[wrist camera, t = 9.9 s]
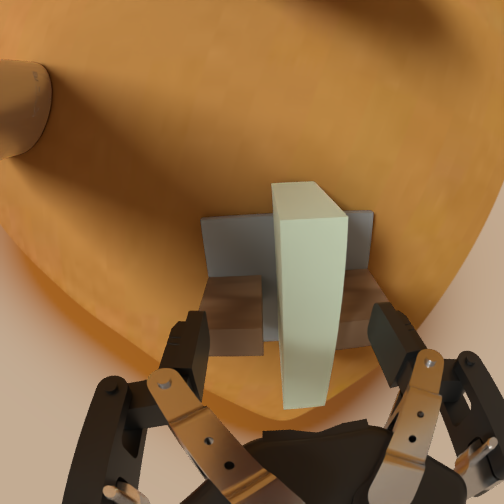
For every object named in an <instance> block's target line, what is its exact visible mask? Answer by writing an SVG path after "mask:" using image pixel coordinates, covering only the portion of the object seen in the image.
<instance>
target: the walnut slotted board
mask: <svg viewBox="0 0 504 504" xmlns="http://www.w3.org/2000/svg"><path fill="white" fill-rule="evenodd" d="M380 302H389V301H388V299H387V297H386V296H385V294H384V293H383V291H382V290H381V288H380V287H379V285H378V283H377V282H376V280H375V279H374V277H373V276H372V274H371V273H370V271H369V270H368V269H354V270H345V275H344V286H343V295H342V304H341V312H340V320H339V327H338V335H337V341H336V348H335V350H341V349H349V348H357V347H364V346H371V344H370V342H369V339H368V335H367V328H368V324H369V320H370V316H371V312H372V308H373V305H374V304H375V303H380ZM199 311H205V312H206V316H207V322H208V328H209V334H210V350H209V356H263V355H264V349H263V297H262V279H261V275H249V276H225V277H209V278H208V281H207V284H206V288H205V291H204V294H203V298H202V301H201V304H200V308H199Z"/></svg>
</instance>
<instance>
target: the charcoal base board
mask: <svg viewBox="0 0 504 504" xmlns="http://www.w3.org/2000/svg"><path fill="white" fill-rule="evenodd" d="M343 212H344V213H345V214H346V215H347V216H348V234H347V251H346V264H345V270H354V269H368V262H369V254H370V245H371V236H372V226H373V214H374V213H373V212H372V211H371V210H359V211H343ZM200 221H201V229H202V236H203V243H204V250H205V256H206V263H207V269H208V276H209V277H225V276H249V275H261V279H262V297H263V341H279V336H278V306H277V280H276V258H275V238H274V219H273V213H269V214H250V215H233V216H217V217H203V218H201V220H200Z"/></svg>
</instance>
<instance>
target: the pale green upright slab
mask: <svg viewBox="0 0 504 504" xmlns="http://www.w3.org/2000/svg"><path fill="white" fill-rule="evenodd" d="M271 186H272V202H273V219H274V238H275V258H276V280H277V306H278V336H279V350H280V363H281V377H282V392H283V407H284V409H297V408H307V407H316V406H324V405H325V402H326V397H327V392H328V387H329V382H330V377H331V371H332V366H333V360H334V354H335V348H336V341H337V335H338V327H339V320H340V312H341V304H342V295H343V286H344V275H345V264H346V251H347V234H348V216H347V215H346V214H345V213H344V212H343V211H342V210H341V209H340V207H339V206H338V205H337V204H336V203H335V202H334V201H333V200H332V199H331V198H330V197H329V196H328V195H327V194H326V193H325V192H324V191H323V190H322V189H321V188H320V187H319V186H318V185H317V184H316V183H315V182H314V181H309V182H286V183H271Z"/></svg>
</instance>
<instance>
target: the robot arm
mask: <svg viewBox="0 0 504 504" xmlns="http://www.w3.org/2000/svg"><path fill="white" fill-rule="evenodd" d="M51 95H52V89H51V81H50V78H49V74H48V72H47V71H46V69H45V68H44V67H43V66H42V65H41V64H38V63H36V62H28V61H18V60H7V59H0V160H2V159H5V158H9V157H12V156H16V155H19V154H22V153H24V152H27V151H28V150H29V149H30V148H32V147H33V145H34V144H35V143H36V142H37V141H38V139H39V137H40V135H41V134H42V132H43V130H44V127H45V125H46V122H47V119H48V115H49V112H50V106H51ZM367 335H368V339H369V342H370V344H371V346H372V348H373V350H374V352H375V355H376V357H377V359H378V361H379V364H380V366H381V368H382V370H383V373H384V375H385V377H386V380H387V382H388V384H389V387H390V388H392V387H397V386H399V388H400V391H399V392H398V394H397V397H396V400H395V403H394V405H393V408H392V411H391V413H390V415H389V418H388V420H387V422H386V424H385V426H384V428H382V427H378V426H370V425H368V422H367V419H363V420H359V421H353V422H347V423H342V424H340V425H337V426H335V427H332V428H329V429H327V430H324V431H322V432H317V433H315V432H304V431H296V430H278V431H277V430H276V431H263V438H259V439H256V440H253V441H250V442H248V443H246V444H244V445H243V446H242V445H241V444H240V443H239V442H238V441H237V440H236V439H235V437H234V436H233V435H232V434H231V433H230V432H229V431H228V429H227V428H226V427H225V426H224V425H223V424H222V422H221V421H220V420H219V419H218V418H217V417H216V415H215V414H214V413H213V412H212V411H211V409H210V408H208V407H207V406H205V407H204V406H203V405H202V404H201V402H202V396H203V389H204V383H205V376H206V369H207V363H208V356H209V350H210V334H209V328H208V322H207V316H206V312H205V311H189V312H188V316H187V319H186V321H178V322H177V323H176V325H175V326H174V327H173V328H172V329H171V332H170V335H169V338H168V341H167V345H166V347H165V350H164V353H163V357H162V360H161V363H160V366H159V369H158V370H156V371H154V372H153V373H151V374H150V376H149V377H148V379H147V380H144V381H139V382H133V383H127V382H126V381H125V379H123V378H122V377H119V376H109V377H106V378H104V379H103V380H101V382H100V383H99V384H98V386H97V388H96V391H95V393H94V396H93V399H92V402H91V404H90V407H89V410H88V413H87V416H86V419H85V422H84V425H83V428H82V431H81V434H80V437H79V440H78V444H77V447H76V450H75V453H74V457H73V461H72V464H71V468H70V472H69V475H68V479H67V483H66V488H65V492H64V496H63V501H62V504H150V502H149V500H148V498H147V497H146V496H145V495H144V494H142V493H141V492H139V491H138V484H139V477H140V470H141V463H142V457H143V451H144V446H145V440H146V434H147V429H148V428H151V427H157V426H163V425H168V427H169V428H170V430H171V431H172V433H173V434H174V436H175V437H176V439H177V440H178V442H179V444H180V445H181V446H182V448H183V449H184V451H185V452H186V454H187V455H188V457H189V458H190V460H191V461H192V463H193V464H194V465H195V467H196V468H197V469H198V471H199V472H200V473H201V475H202V476H203V477H204V479H205V481H204V482H203V483H202V484H201V485H200V486H199V487H198V488H197V489H196V490H195V491H194V492H192V493H191V494H190V495H189V496H188V497H187V498H186V499H184V500H183V501H182V502H181V503H180V504H466V500H467V499H469V498H471V497H478V496H480V495H482V494H484V493H486V492H487V491H489V490H490V489H492V488H494V487H495V486H497V485H498V484H500V483H501V482H503V481H504V399H503V397H502V395H501V394H500V392H499V390H498V388H497V386H496V384H495V382H494V381H493V379H492V377H491V376H490V374H489V372H488V371H487V369H486V367H485V366H484V364H483V363H482V361H481V359H480V358H479V356H477V355H476V354H475V353H473V352H471V351H463V352H461V353H460V354H459V356H458V358H457V359H443V357H442V356H441V354H440V353H438V352H437V351H435V350H432V349H427V347H426V346H425V344H424V343H423V341H422V340H421V338H420V336H419V335H418V333H417V332H416V330H415V329H414V327H413V326H412V325H411V323H410V321H409V320H408V318H407V317H406V316H405V315H404V314H403V313H401V312H400V311H396V310H395V309H394V307H393V306H392V304H391V303H390V302H380V303H375V304H374V305H373V308H372V312H371V316H370V320H369V324H368V328H367ZM464 392H466V394H467V396H468V398H469V400H470V402H471V410H470V409H469V406H468V404H467V402H466V400H465V398H464V396H463V394H464ZM439 410H440V412H441V415H442V417H443V420H444V422H445V425H446V427H447V430H448V433H449V436H450V438H451V441H452V444H453V447H454V450H455V453H456V456H457V459H456V462H455V468H454V470H452V469H450V468H448V467H447V466H445V465H443V464H442V463H440V462H438V461H437V460H435V459H433V458H432V457H430V456H429V455H427V454H428V450H429V447H430V444H431V441H432V437H433V433H434V430H435V426H436V423H437V419H438V414H439Z"/></svg>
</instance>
